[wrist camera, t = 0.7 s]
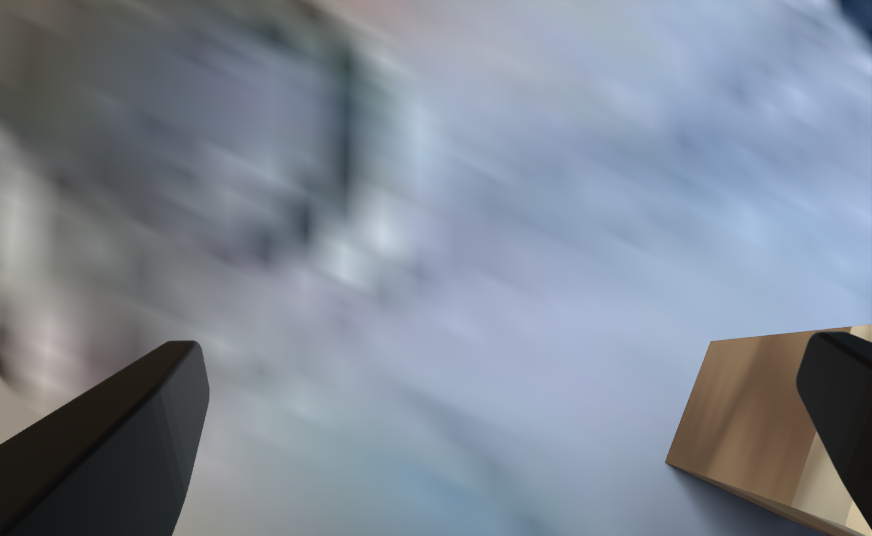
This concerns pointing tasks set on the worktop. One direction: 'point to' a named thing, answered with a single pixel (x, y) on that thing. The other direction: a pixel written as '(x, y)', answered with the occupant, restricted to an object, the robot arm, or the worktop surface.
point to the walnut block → (764, 433)
